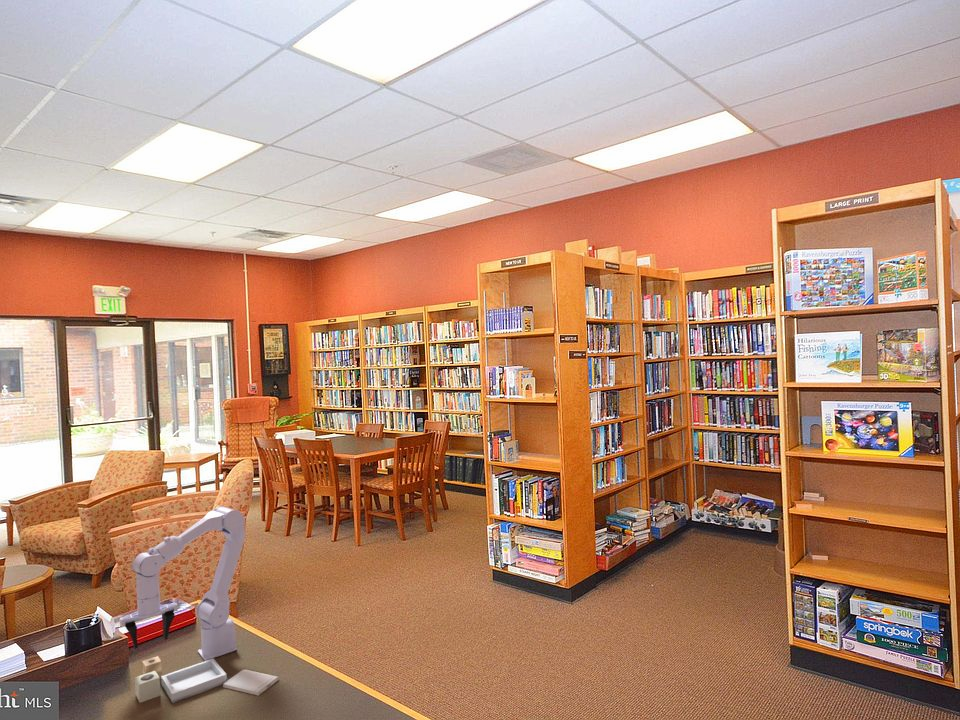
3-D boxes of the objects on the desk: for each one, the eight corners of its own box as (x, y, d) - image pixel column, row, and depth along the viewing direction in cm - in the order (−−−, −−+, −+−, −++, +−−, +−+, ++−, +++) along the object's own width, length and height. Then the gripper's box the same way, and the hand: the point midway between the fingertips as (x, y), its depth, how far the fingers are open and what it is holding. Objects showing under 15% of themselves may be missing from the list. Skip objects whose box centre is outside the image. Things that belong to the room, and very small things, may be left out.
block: (158, 672, 178) (157, 655, 178) (161, 678, 175) (161, 660, 175) (143, 678, 175) (142, 660, 175) (146, 683, 172) (145, 666, 172)
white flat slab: (222, 683, 169) (258, 691, 164) (244, 668, 177) (278, 675, 172) (223, 689, 169) (258, 697, 164) (244, 674, 177) (279, 681, 172)
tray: (213, 666, 180) (213, 658, 180) (226, 682, 171) (226, 674, 171) (161, 685, 171) (161, 676, 171) (172, 703, 162) (172, 693, 162)
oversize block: (156, 688, 170) (155, 670, 170) (160, 695, 166) (159, 677, 166) (135, 695, 167) (134, 677, 167) (139, 703, 163) (138, 684, 163)
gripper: (172, 584, 182) (174, 629, 183) (116, 599, 173) (119, 646, 173) (178, 591, 177) (180, 637, 177) (121, 606, 168) (124, 655, 168)
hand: (150, 642), depth 175 cm, fingers open, 7 cm apart
